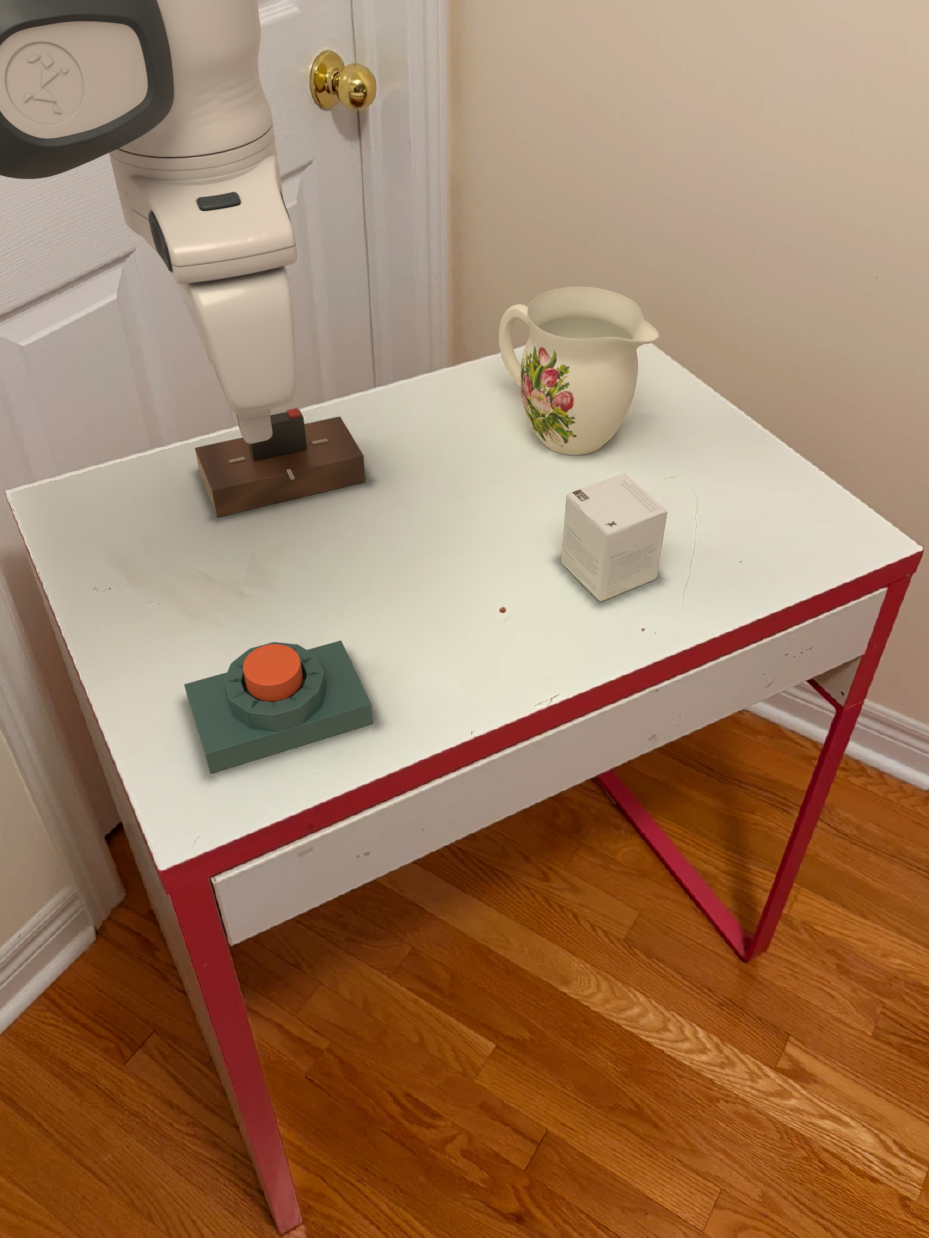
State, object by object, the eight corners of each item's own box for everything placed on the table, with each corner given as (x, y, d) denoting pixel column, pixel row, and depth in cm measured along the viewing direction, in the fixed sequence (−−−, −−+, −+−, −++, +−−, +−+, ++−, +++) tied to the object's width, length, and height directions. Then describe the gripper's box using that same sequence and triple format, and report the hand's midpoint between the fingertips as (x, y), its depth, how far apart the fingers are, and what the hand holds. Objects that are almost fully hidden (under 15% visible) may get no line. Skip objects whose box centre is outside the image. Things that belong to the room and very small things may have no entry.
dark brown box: (254, 461, 95) (248, 426, 92) (250, 452, 96) (244, 418, 93) (307, 449, 96) (303, 414, 94) (303, 441, 97) (299, 406, 94)
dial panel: (219, 524, 93) (214, 496, 91) (197, 467, 99) (191, 439, 97) (369, 488, 97) (367, 460, 95) (339, 436, 103) (336, 408, 101)
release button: (254, 708, 73) (250, 691, 72) (240, 669, 76) (236, 652, 74) (309, 692, 74) (307, 675, 73) (293, 654, 77) (291, 637, 75)
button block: (210, 773, 73) (200, 737, 70) (189, 703, 78) (179, 667, 75) (372, 724, 77) (370, 687, 74) (343, 659, 81) (339, 623, 78)
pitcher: (534, 376, 111) (542, 252, 102) (671, 446, 102) (694, 317, 93) (461, 417, 106) (462, 289, 96) (600, 494, 97) (616, 362, 87)
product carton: (657, 580, 88) (670, 511, 83) (598, 604, 86) (608, 534, 81) (615, 539, 92) (625, 471, 87) (557, 561, 90) (564, 492, 85)
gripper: (112, 125, 64) (160, 330, 74) (177, 269, 50) (225, 497, 60) (215, 111, 66) (248, 313, 75) (304, 247, 52) (330, 472, 62)
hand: (238, 396), depth 68 cm, fingers open, 8 cm apart
